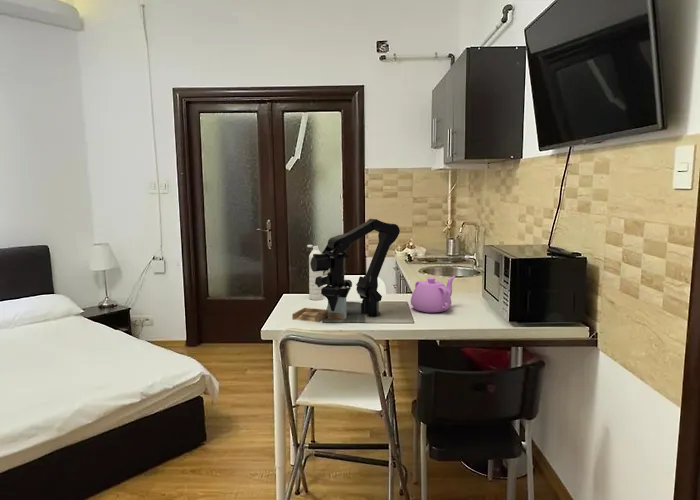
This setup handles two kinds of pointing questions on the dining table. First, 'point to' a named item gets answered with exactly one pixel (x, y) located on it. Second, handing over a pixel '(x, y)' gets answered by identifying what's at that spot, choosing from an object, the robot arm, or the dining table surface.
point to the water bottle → (314, 277)
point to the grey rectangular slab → (339, 307)
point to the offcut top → (310, 314)
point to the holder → (336, 316)
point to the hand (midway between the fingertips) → (337, 308)
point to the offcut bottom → (307, 318)
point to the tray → (322, 312)
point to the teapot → (432, 295)
